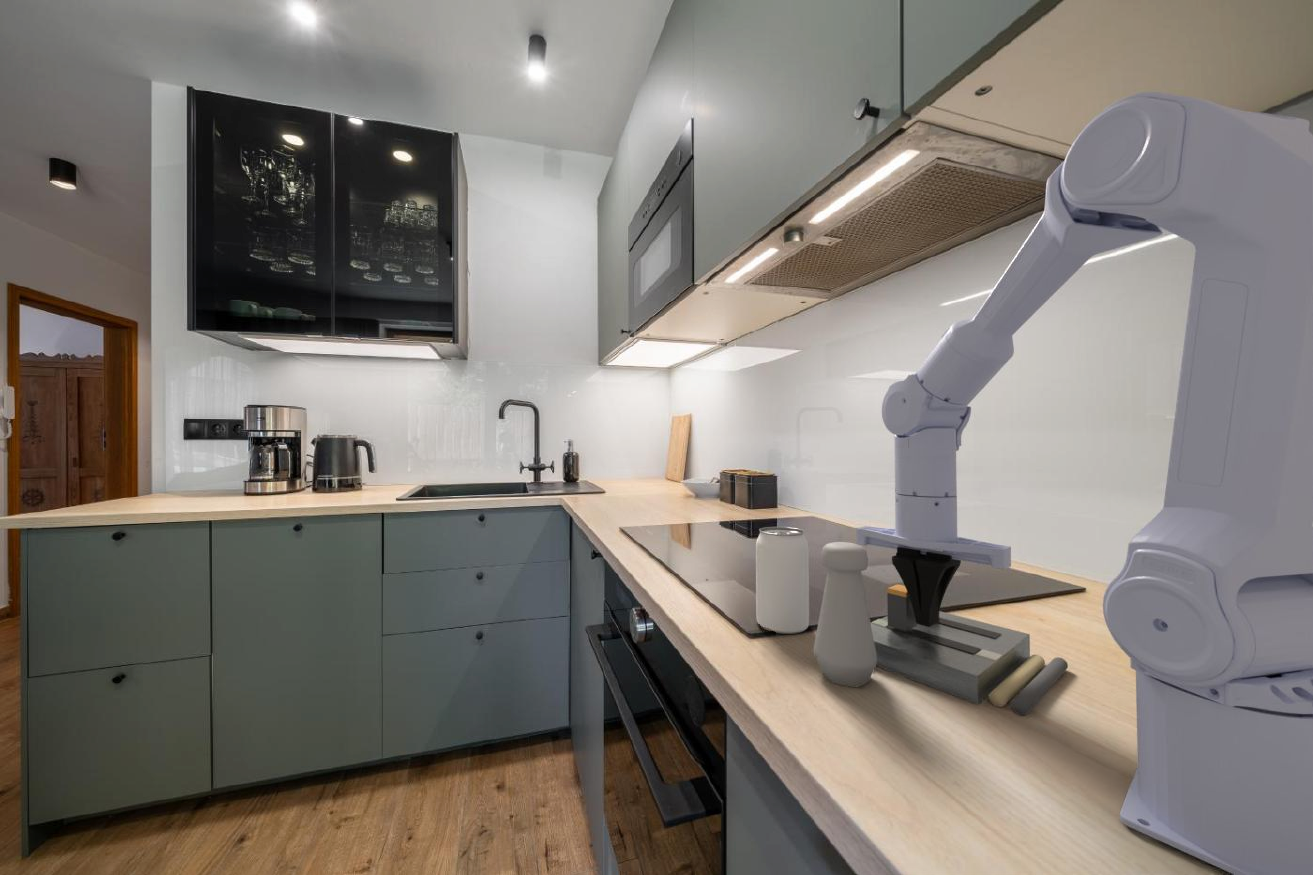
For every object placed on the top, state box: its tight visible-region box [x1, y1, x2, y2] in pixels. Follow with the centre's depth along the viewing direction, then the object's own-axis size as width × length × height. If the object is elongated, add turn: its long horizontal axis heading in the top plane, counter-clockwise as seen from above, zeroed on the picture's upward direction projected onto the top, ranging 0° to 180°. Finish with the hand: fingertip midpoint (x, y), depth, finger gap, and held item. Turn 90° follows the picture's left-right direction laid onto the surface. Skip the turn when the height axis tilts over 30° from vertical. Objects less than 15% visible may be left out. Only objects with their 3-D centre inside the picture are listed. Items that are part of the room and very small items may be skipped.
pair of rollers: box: [988, 654, 1069, 716], centre depth 44 cm, size 3×14×1 cm, turn 128°
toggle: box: [886, 584, 917, 631], centre depth 52 cm, size 2×2×4 cm
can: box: [755, 526, 810, 635], centre depth 59 cm, size 6×6×12 cm
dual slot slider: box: [870, 610, 1031, 705], centre depth 50 cm, size 12×15×7 cm
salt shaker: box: [813, 541, 877, 688], centre depth 46 cm, size 6×6×13 cm
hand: (926, 623), depth 50 cm, fingers closed
